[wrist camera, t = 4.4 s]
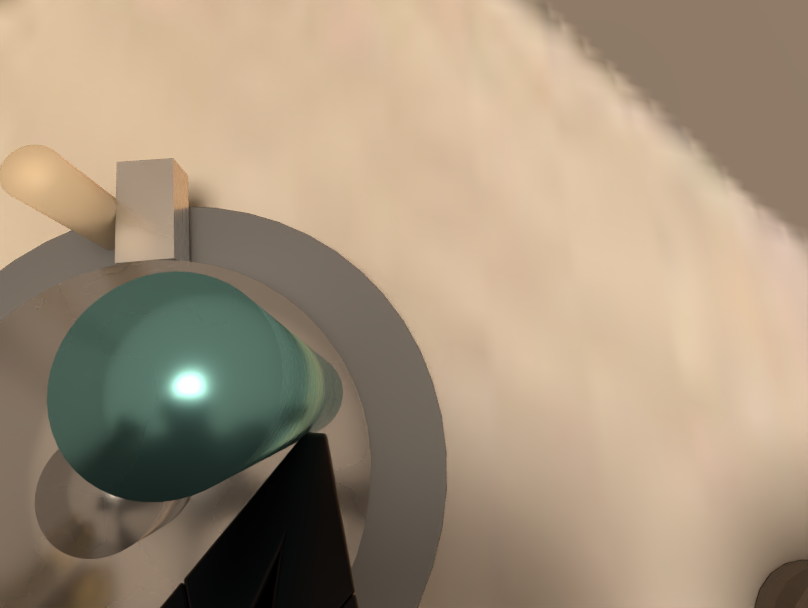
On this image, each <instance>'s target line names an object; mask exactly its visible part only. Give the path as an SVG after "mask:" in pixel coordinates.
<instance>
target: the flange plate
mask: <svg viewBox="0 0 808 608" xmlns="http://www.w3.org/2000/svg"><path fill="white" fill-rule="evenodd" d="M115 264H117V265H115V266H110V267H105V268H101V269H98V270H95V271H92V272H89V273H86V274H83V275H80V276H77V277H74V278H71V279H69V280H67V281H65V282H63V283H60V284H58V285H56V286H54V287H52V288H50V289H47V290H45V291H44V292H42V293H41V294H39V295H37V296H36V297H34V298H32V299H31V300H29V301H27V302H26V303H24V304H22V305H21V306H19V307H18V308H16V309H15V310H14V311H13V312H11V313H10V314H9V315H7V316H6V317H5V318H3V319H2V320H1V321H0V608H160V607H161V606H162V605H163V603H164V602H165V601H166V600H167V598H168V597H169V596H170V595H171V594H172V592H173V591H174V590H175V589H176V588H177V586H178V585H179V584H180V583H184V578H185V577H186V576H187V575H188V573H189V572H190V571H191V570H192V569H193V567H194V566H195V565H196V564H197V562H198V561H199V560H200V559H201V558H202V556H203V555H204V554H205V553H206V552H207V550H208V549H209V548H210V547H211V546H212V544H213V543H214V542H215V541H216V540H217V538H218V537H219V536H220V535H221V533H222V532H223V531H224V530H225V529H226V527H227V526H228V525H229V524H230V523H231V521H232V520H233V519H234V518H235V517H236V515H237V514H238V513H239V512H240V511H241V509H242V508H243V507H244V506H245V504H246V503H247V502H248V501H249V500H250V498H251V497H252V496H253V495H254V494H255V492H256V491H257V490H258V489H259V488H260V486H261V485H262V484H263V483H264V482H265V480H266V479H267V478H268V477H269V475H270V474H271V473H272V472H273V471H274V469H275V468H276V467H277V466H278V465H279V463H280V462H281V461H282V460H283V459H284V457H285V456H286V455H287V454H288V453H289V451H290V450H291V449H292V448H293V446H294V445H295V444H296V443H297V442H298V440H300V439H301V438H302V437H304V436H305V435H306V434H307V433H308V432H314V433H325V434H326V435H327V437H328V443H329V448H330V453H331V459H332V464H333V470H334V475H335V481H336V486H337V492H338V497H339V503H340V508H341V514H342V519H343V524H344V530H345V535H346V541H347V546H348V552H349V557H350V563H351V568H352V565H353V563H354V561H355V558H356V555H357V552H358V548H359V545H360V541H361V538H362V534H363V530H364V527H365V522H366V515H367V509H368V502H369V495H370V478H371V452H370V442H369V432H368V427H367V422H366V418H365V414H364V409H363V405H362V402H361V399H360V397H359V394H358V391H357V389H356V386H355V383H354V381H353V379H352V377H351V375H350V373H349V371H348V369H347V367H346V365H345V364H344V362H343V360H342V358H341V357H340V355H339V354H338V352H337V351H336V350H335V348H334V347H333V345H332V344H331V343H330V341H329V340H328V338H327V337H326V336H325V334H324V333H323V332H322V331H321V330H320V329H319V328H318V327H317V326H316V325H315V324H314V322H313V321H312V320H311V319H310V318H309V317H308V316H307V315H306V314H305V313H304V312H303V311H301V310H300V309H299V308H298V307H296V306H295V305H294V304H293V303H291V302H290V301H289V300H288V299H287V298H285V297H284V296H282V295H281V294H279V293H277V292H276V291H274V290H272V289H271V288H269V287H267V286H266V285H264V284H263V283H261V282H258V281H256V280H254V279H251V278H249V277H247V276H245V275H242V274H240V273H238V272H234V271H231V270H227V269H224V268H221V267H217V266H214V265H209V264H202V263H196V262H190V261H189V201H188V175H187V174H186V173H185V172H184V170H183V169H182V168H181V167H180V166H179V164H178V163H177V162H176V161H175V160H174V158H170V159H155V160H140V161H125V162H117V180H116V225H115Z"/></svg>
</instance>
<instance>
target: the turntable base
mask: <svg viewBox="0 0 808 608" xmlns="http://www.w3.org/2000/svg"><path fill="white" fill-rule="evenodd" d="M0 184H1V186H2V188H3V189H4V190H5V192H6V193H8V194H9V195H11V196H12V197H14V198H16V199H18V200H19V201H21V202H23V203H25V204H26V205H28V206H30V207H32V208H34V209H35V210H37V211H39V212H41V213H42V214H44V215H46V216H48V217H50V218H51V219H53V220H55V221H57V222H58V223H60V224H62V225H64V226H66V227H67V228H69V229H71V230H72V231H69V232H67V233H65V234H63V235H60V236H58V237H56V238H54V239H51V240H49V241H47V242H45V243H43V244H42V245H40V246H38V247H36V248H35V249H33V250H31V251H30V252H28V253H26V254H24V255H23V256H21V257H19V258H18V259H16V260H14V261H13V262H12V263H10V264H9V265H7V266H6V267H5V268H3V269H2V270H1V271H0V321H1V320H2V319H3V318H5V317H6V316H7V315H9V314H10V313H11V312H13V311H14V310H15V309H16V308H18V307H19V306H21V305H22V304H24V303H26V302H27V301H29V300H31V299H32V298H34V297H36V296H37V295H39V294H41V293H42V292H44V291H45V290H47V289H50V288H52V287H54V286H56V285H58V284H60V283H63V282H65V281H67V280H69V279H71V278H74V277H77V276H80V275H83V274H86V273H89V272H92V271H95V270H98V269H101V268H105V267H110V266H115V265H117V264H115V225H116V198H114V197H113V196H112V195H110V194H109V193H108V192H106V191H105V190H104V189H103V188H101V187H100V186H99V185H97V184H96V183H95V182H94V181H92V180H91V179H90V178H88V177H87V176H86V175H85V174H83V173H82V172H81V171H79V170H78V169H77V168H76V167H74V166H73V165H72V164H70V163H69V162H68V161H67V160H65V159H64V158H63V157H61V156H60V155H59V154H58V153H56V152H55V151H54V150H52V149H51V148H48V147H46V146H42V145H28V146H24V147H21V148H19V149H17V150H15V151H14V152H12V153H11V154H10V155H9V156H8V157H7V158H6V159H5V160H4V162H3V163H2V165H1V168H0ZM189 261H190V262H196V263H202V264H209V265H214V266H217V267H221V268H224V269H227V270H231V271H234V272H238V273H240V274H242V275H245V276H247V277H249V278H251V279H254V280H256V281H258V282H261V283H263V284H264V285H266V286H267V287H269V288H271V289H272V290H274V291H276V292H277V293H279V294H281V295H282V296H284V297H285V298H287V299H288V300H289V301H290V302H291V303H293V304H294V305H295V306H296V307H298V308H299V309H300V310H301V311H303V312H304V313H305V314H306V315H307V316H308V317H309V318H310V319H311V320H312V321H313V322H314V324H315V325H316V326H317V327H318V328H319V329H320V330H321V331H322V332H323V333H324V334H325V336H326V337H327V338H328V340H329V341H330V343H331V344H332V345H333V347H334V348H335V350H336V351H337V352H338V354H339V355H340V357H341V358H342V360H343V362H344V364H345V365H346V367H347V369H348V371H349V373H350V375H351V377H352V379H353V381H354V383H355V386H356V389H357V391H358V394H359V397H360V399H361V402H362V405H363V409H364V414H365V418H366V422H367V427H368V432H369V442H370V452H371V478H370V495H369V502H368V509H367V515H366V522H365V527H364V530H363V534H362V538H361V541H360V545H359V548H358V552H357V555H356V558H355V561H354V563H353V565H352V574H353V579H354V585H355V590H356V594H355V595H356V596H357V600H358V605H359V608H418V605H419V603H420V600H421V597H422V595H423V592H424V589H425V587H426V584H427V581H428V579H429V576H430V573H431V571H432V568H433V564H434V560H435V556H436V551H437V547H438V543H439V539H440V535H441V531H442V524H443V516H444V507H445V499H446V490H447V484H446V446H445V438H444V431H443V423H442V416H441V412H440V408H439V404H438V400H437V396H436V393H435V389H434V385H433V381H432V379H431V376H430V374H429V371H428V369H427V366H426V364H425V362H424V359H423V357H422V354H421V352H420V349H419V348H418V346H417V344H416V342H415V340H414V339H413V337H412V335H411V333H410V332H409V330H408V328H407V326H406V324H405V323H404V321H403V320H402V318H401V317H400V315H399V314H398V313H397V311H396V310H395V309H394V307H393V306H392V305H391V303H390V302H389V301H388V299H387V298H386V297H385V295H384V294H383V293H382V292H381V291H380V290H379V289H378V288H377V287H376V286H375V285H374V284H373V283H372V282H371V281H370V280H369V279H368V278H367V277H366V276H365V275H364V274H363V273H362V272H361V271H360V270H359V269H358V268H356V267H355V266H354V265H353V264H351V263H350V262H349V261H348V260H346V259H345V258H344V257H342V256H341V255H340V254H339V253H337V252H336V251H334V250H333V249H331V248H329V247H328V246H326V245H324V244H323V243H321V242H319V241H318V240H316V239H314V238H313V237H311V236H309V235H307V234H305V233H303V232H300V231H298V230H296V229H294V228H291V227H289V226H287V225H284V224H282V223H280V222H277V221H273V220H270V219H266V218H263V217H259V216H256V215H253V214H249V213H244V212H238V211H232V210H225V209H219V208H206V207H189Z"/></svg>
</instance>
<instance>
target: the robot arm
mask: <svg viewBox="0 0 808 608" xmlns="http://www.w3.org/2000/svg"><path fill="white" fill-rule="evenodd" d="M355 594H356V590H355V585H354V579H353V574H352V568H351V563H350V557H349V552H348V546H347V541H346V535H345V530H344V524H343V519H342V514H341V508H340V503H339V497H338V492H337V486H336V481H335V475H334V470H333V464H332V459H331V453H330V448H329V443H328V437H327V435H326V434H325V433H314V432H308V433H307V434H306V435H305V436H304V437H302V438H301V439H300V440H298V442H297V443H296V444H295V445H294V446H293V448H292V449H291V450H290V451H289V453H288V454H287V455H286V456H285V457H284V459H283V460H282V461H281V462H280V463H279V465H278V466H277V467H276V468H275V469H274V471H273V472H272V473H271V474H270V475H269V477H268V478H267V479H266V480H265V482H264V483H263V484H262V485H261V486H260V488H259V489H258V490H257V491H256V492H255V494H254V495H253V496H252V497H251V498H250V500H249V501H248V502H247V503H246V504H245V506H244V507H243V508H242V509H241V511H240V512H239V513H238V514H237V515H236V517H235V518H234V519H233V520H232V521H231V523H230V524H229V525H228V526H227V527H226V529H225V530H224V531H223V532H222V533H221V535H220V536H219V537H218V538H217V540H216V541H215V542H214V543H213V544H212V546H211V547H210V548H209V549H208V550H207V552H206V553H205V554H204V555H203V556H202V558H201V559H200V560H199V561H198V562H197V564H196V565H195V566H194V567H193V569H192V570H191V571H190V572H189V573H188V575H187V576H186V577H185V578H184V583H180V584H179V585H178V586H177V588H176V589H175V590H174V591H173V592H172V594H171V595H170V596H169V597H168V598H167V600H166V601H165V602H164V603H163V605H162V606H161V607H160V608H359V605H358V600H357V596H356V595H355Z"/></svg>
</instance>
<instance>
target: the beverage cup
mask: <svg viewBox="0 0 808 608" xmlns="http://www.w3.org/2000/svg"><path fill="white" fill-rule="evenodd" d="M755 608H808V561H806V560H801V561H796V562H791V563H787V564H784V565H783V566H782V567H780V568H779V569H777V570H776V571H774V572H773V573H771V574H770V576H769V577H768V579H767V580H766V582H765V583H764V584H763V586H762V587H761V589H760V591H759V595H758V598H757V602H756V606H755Z"/></svg>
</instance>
